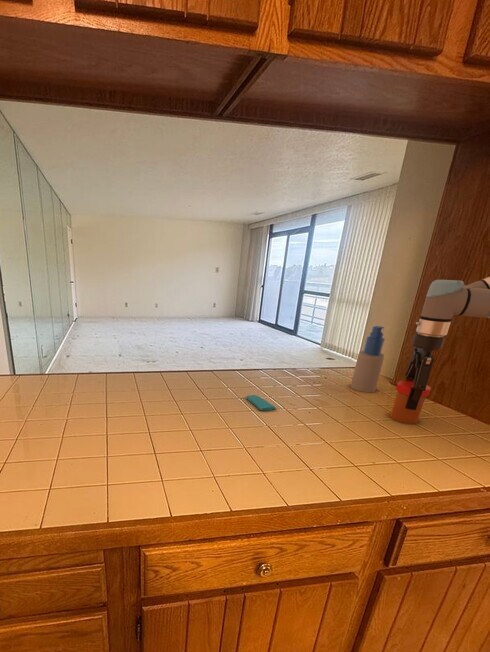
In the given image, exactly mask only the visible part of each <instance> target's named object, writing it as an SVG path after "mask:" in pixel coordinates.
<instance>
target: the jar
mask: <svg viewBox="0 0 490 652" xmlns="http://www.w3.org/2000/svg"><path fill="white" fill-rule="evenodd" d="M408 397H409V395H407V394H403V393H401V392H399V391H397V390H396V394H395V398H394V402H393V405H392V408H391V411H390V415H389V417H390V419H393V420H394V421H396V422H400V423H403V424H413V425H414V424H417V423H418V421H419V419H420V415H421V412H422V410H423V406H424V403H425V400H426V397H427V396H425V397H420V399H419V402H418V405H417V408H416V410H411V409H405V406H406V403H407V400H408Z"/></svg>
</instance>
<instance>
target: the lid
mask: <svg viewBox="0 0 490 652" xmlns="http://www.w3.org/2000/svg"><path fill="white" fill-rule="evenodd" d="M413 385H414V380H413V381H405V380H399V381H397V384H396V386H395V391H396V392H397V391H399V392H401V393H403V394H407V395H409V394H410V391H411V389H410V387H413ZM431 390H432V387H431V386H429V385H428V384H427V386H426V390H425V391H422V393H421V396H420V397H425V396H426V397H428V396H429V395H430V393H431ZM426 397H425V398H426Z"/></svg>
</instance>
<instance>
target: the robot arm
mask: <svg viewBox="0 0 490 652" xmlns="http://www.w3.org/2000/svg"><path fill="white" fill-rule="evenodd" d="M424 299H425V300H424V303H423V307H422V309H421V314H420V317H419V321H416V322H415V325H416V326H417V327H416V330H415V332H416V333H415V334H414V335H413V338H412V342H411V346H412V347H414V348H413V352H412V356H411V357H410V358H411V359H410V360H409V364H408V366H407V369H406V371H405V374H404V375H405V380H404V381H414V385H413V387H410V389H411V391H410V394H409V397H408V400H407V403H406V406H405V409H411V410H416V408H417V405H418V402H419V399H420V396H421V393H422V391H425V390H426V386H427V385H428V381H429V378H430V374H431V370H432V368H433V364H434V362H435V357H434V356H433V351H438V350H441V349H442V348H443V346H444V343H445V340H446V337H445V336H447V335H448V332H449V329H450V326H451V323H452V319H453V317H454V316H457V317H471V318H484V319H485V318H486V319H490V276H487V277H485V278H482V279H480V280H477V281H475V282H472V283H469V284H465V282H464V281H463V280H458V279H457V280H456V279H455V280H454V279H435V280H433V281H431V283H430V286H429V288H428V291H427V293H426V295H425V298H424Z"/></svg>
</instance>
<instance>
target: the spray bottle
mask: <svg viewBox="0 0 490 652" xmlns="http://www.w3.org/2000/svg"><path fill="white" fill-rule="evenodd" d="M384 330H385V326H381V325H375V326H372V328H371V332H370V333H369V336H367V337H366V340H365V344H364V348H363V350H360V351H359V352H358V354H357V358H356V362H355V367H354V371H353V375H352V378H351V383H350V388H351V389H353V390H355V391H358V392H362V393H374V392H376V390H377V386H378V382H379V378H380V375H381V371H382V367H383V364H384V360H385V354H384V353H382V351H383V348H384V343H385V338H384Z"/></svg>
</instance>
